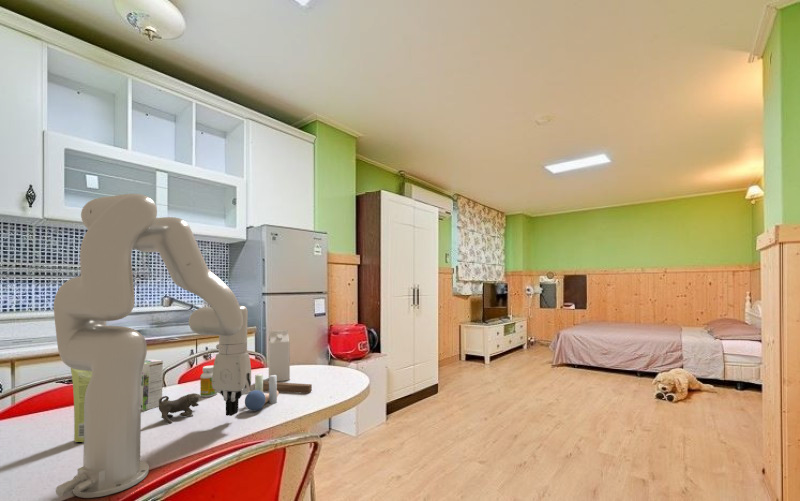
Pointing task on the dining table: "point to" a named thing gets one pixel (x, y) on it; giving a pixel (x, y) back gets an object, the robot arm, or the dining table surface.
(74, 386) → the tube
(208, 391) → the supplement bottle
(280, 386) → the brown bar
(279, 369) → the milk carton
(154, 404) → the syrup box
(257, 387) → the back pin left
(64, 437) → the dining table surface
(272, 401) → the back pin right
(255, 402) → the ball
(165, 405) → the dog figurine
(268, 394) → the front pin
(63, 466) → the dining table surface
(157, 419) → the dining table surface
